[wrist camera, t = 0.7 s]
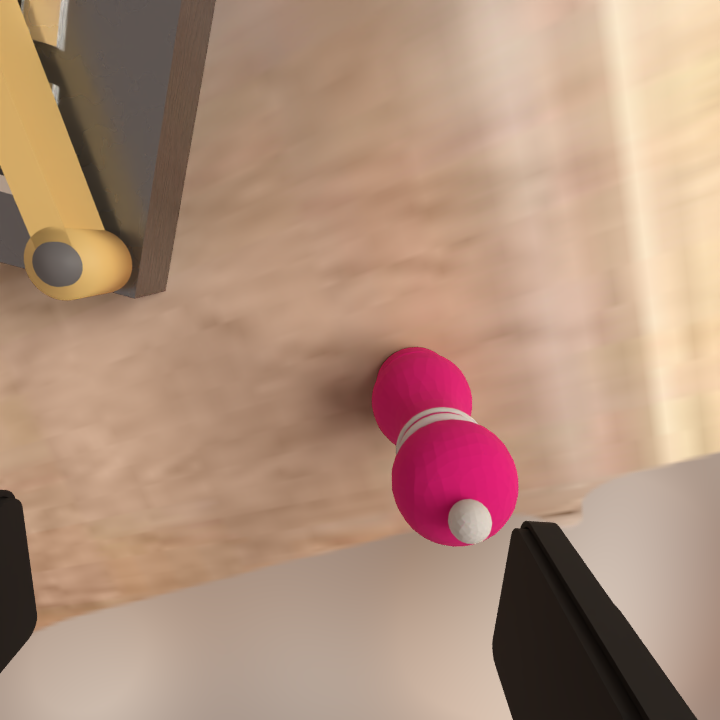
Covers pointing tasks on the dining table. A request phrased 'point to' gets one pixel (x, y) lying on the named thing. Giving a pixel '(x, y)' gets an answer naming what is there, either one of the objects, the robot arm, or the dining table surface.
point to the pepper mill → (442, 451)
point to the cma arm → (50, 178)
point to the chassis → (122, 116)
